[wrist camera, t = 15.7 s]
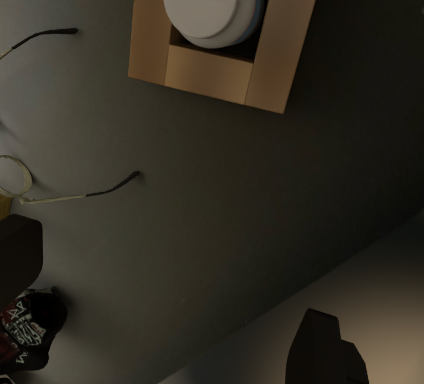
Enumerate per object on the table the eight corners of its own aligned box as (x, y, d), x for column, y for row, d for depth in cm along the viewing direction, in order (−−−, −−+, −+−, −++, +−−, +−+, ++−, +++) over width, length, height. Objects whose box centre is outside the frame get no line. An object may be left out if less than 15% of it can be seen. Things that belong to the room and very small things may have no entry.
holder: (335, -74, 27) (341, -93, 23) (284, 104, 33) (283, 114, 29) (164, -104, 29) (143, -126, 25) (147, 72, 35) (127, 77, 31)
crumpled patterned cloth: (18, 243, 49) (-38, 300, 52) (-14, 337, 36) (-85, 404, 39) (81, 275, 54) (28, 324, 57) (72, 365, 42) (4, 422, 45)
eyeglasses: (-32, 72, 39) (-74, 77, 35) (76, 21, 34) (43, 19, 30) (41, 204, 45) (13, 223, 40) (143, 177, 40) (124, 195, 35)
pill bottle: (248, -48, 29) (224, -91, 19) (275, 26, 31) (266, 22, 21) (186, -11, 31) (134, -31, 21) (214, 56, 33) (179, 67, 23)
